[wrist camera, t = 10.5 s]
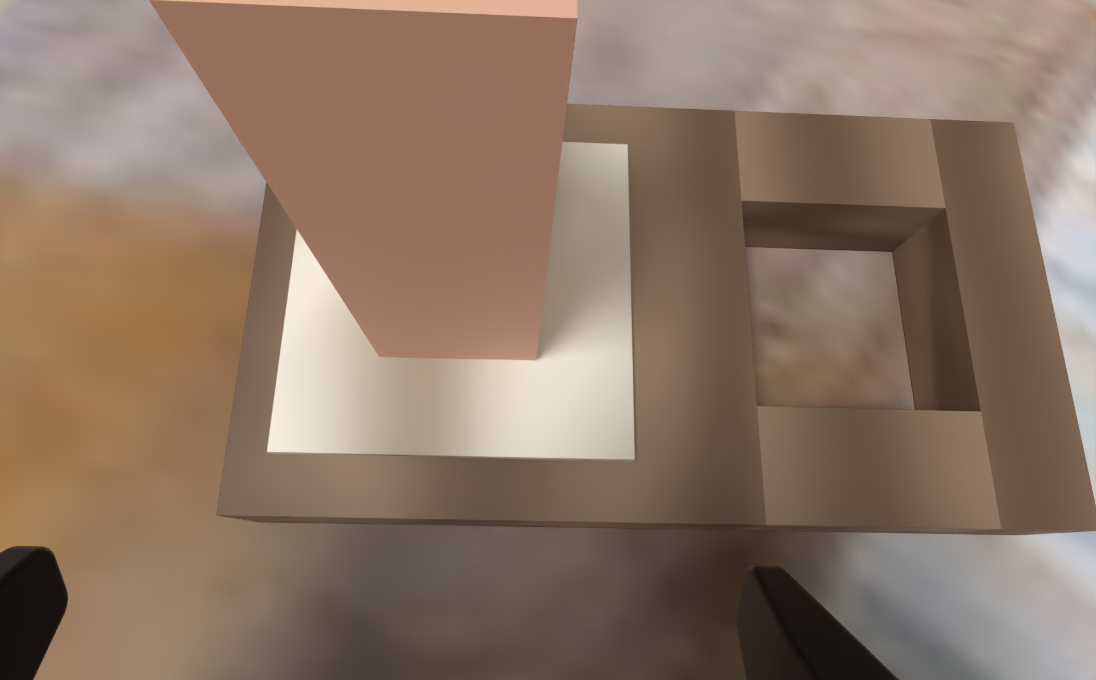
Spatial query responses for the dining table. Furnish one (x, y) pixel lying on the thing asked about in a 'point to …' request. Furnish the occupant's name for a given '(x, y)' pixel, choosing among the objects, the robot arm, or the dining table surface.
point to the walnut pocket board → (689, 351)
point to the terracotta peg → (404, 151)
